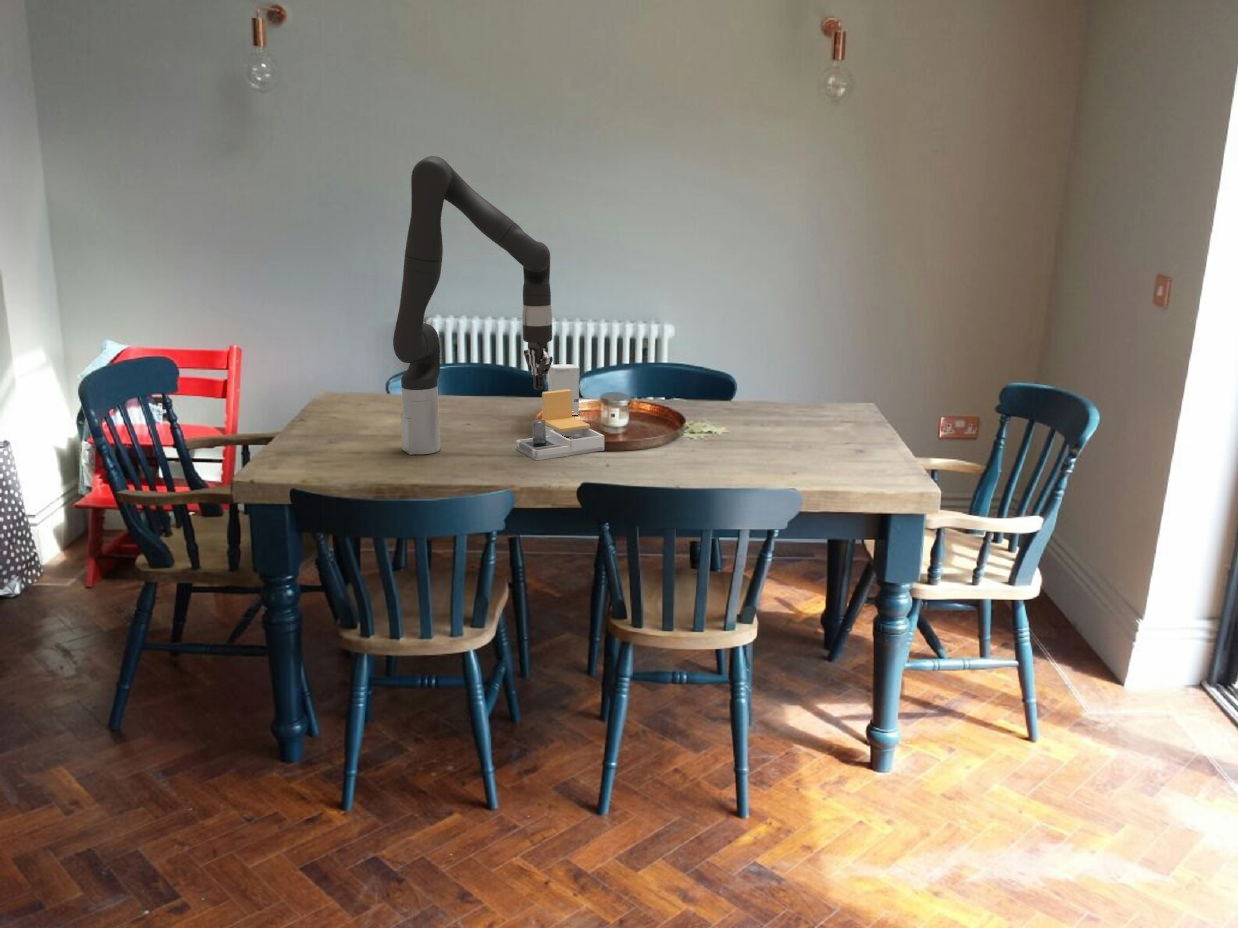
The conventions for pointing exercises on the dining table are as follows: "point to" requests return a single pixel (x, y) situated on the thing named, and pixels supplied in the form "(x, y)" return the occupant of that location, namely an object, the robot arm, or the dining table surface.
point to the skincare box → (565, 381)
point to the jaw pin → (539, 433)
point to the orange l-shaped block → (560, 411)
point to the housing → (563, 444)
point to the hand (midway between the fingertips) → (538, 389)
